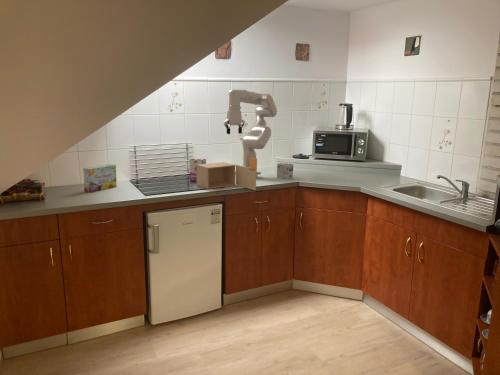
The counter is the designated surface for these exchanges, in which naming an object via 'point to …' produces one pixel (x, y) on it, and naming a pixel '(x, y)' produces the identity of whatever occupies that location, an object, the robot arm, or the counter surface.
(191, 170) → the candy bar box
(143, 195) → the counter surface
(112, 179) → the snack box
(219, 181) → the carton
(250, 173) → the flap
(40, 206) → the counter surface
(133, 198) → the counter surface
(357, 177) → the counter surface
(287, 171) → the light bulb box
